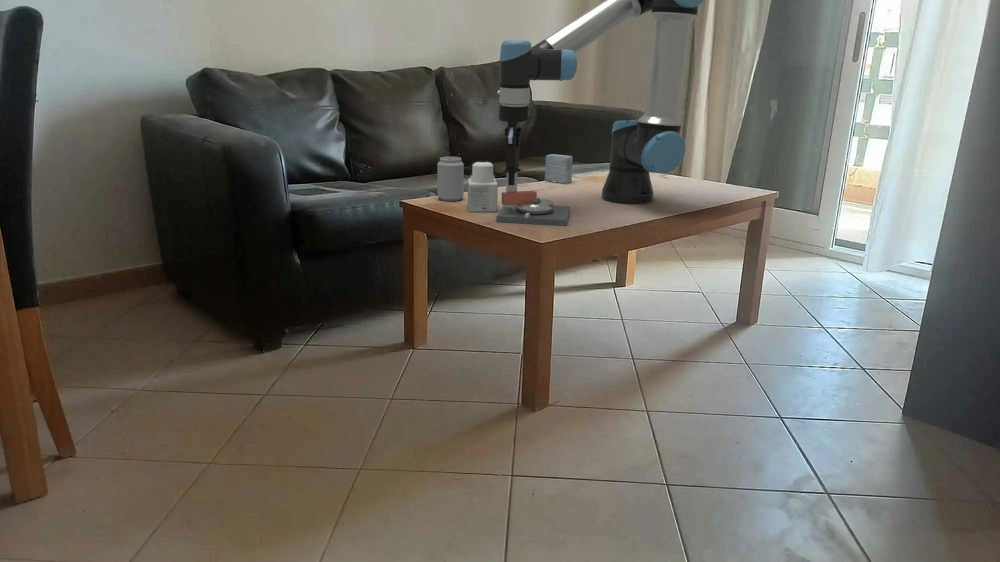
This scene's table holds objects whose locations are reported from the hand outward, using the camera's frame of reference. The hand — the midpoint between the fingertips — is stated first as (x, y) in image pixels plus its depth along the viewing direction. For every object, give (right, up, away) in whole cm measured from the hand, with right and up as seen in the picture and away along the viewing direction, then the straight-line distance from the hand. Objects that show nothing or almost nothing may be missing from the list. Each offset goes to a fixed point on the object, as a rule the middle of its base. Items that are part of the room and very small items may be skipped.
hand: (511, 196), depth 190 cm
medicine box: (+16, +10, +48) cm, 52 cm away
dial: (+4, -4, 0) cm, 6 cm away
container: (-8, -2, +9) cm, 12 cm away
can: (-17, +1, +20) cm, 27 cm away
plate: (+6, -5, +2) cm, 8 cm away
